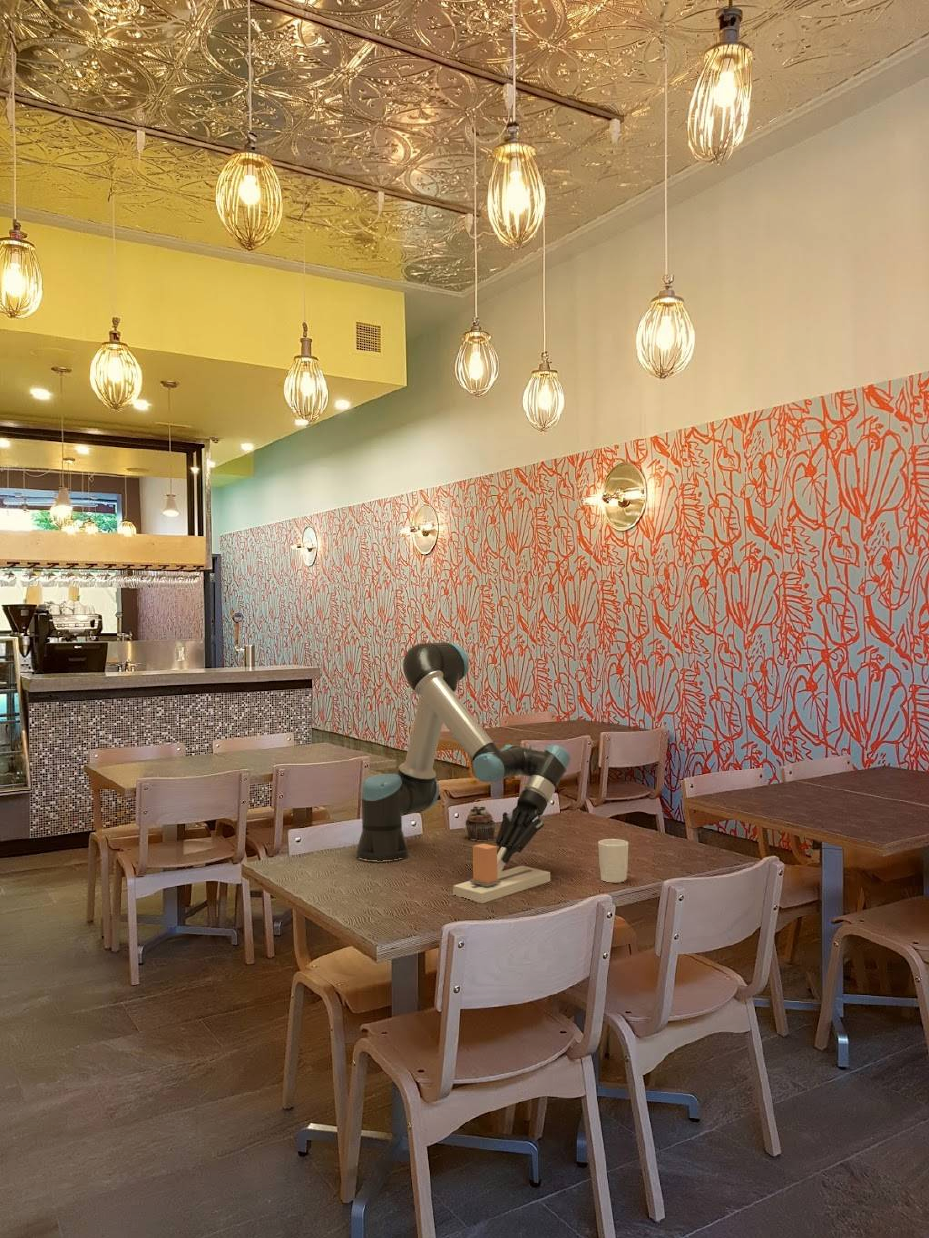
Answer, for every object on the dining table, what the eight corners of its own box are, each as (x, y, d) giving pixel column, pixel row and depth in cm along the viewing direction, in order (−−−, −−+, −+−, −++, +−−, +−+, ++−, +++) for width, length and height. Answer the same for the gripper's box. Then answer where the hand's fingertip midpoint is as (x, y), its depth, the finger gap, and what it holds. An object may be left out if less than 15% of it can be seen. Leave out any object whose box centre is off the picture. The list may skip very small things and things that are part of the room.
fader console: (521, 874, 244) (521, 865, 244) (550, 881, 237) (550, 871, 237) (453, 895, 226) (453, 885, 226) (482, 903, 219) (481, 892, 219)
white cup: (610, 886, 232) (610, 847, 232) (592, 878, 239) (592, 841, 239) (635, 881, 236) (634, 843, 236) (616, 874, 243) (616, 837, 243)
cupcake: (496, 841, 282) (495, 809, 282) (465, 842, 282) (465, 810, 282) (495, 834, 292) (495, 803, 292) (465, 835, 292) (465, 804, 292)
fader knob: (483, 878, 231) (483, 842, 231) (500, 882, 226) (500, 846, 227) (469, 882, 227) (469, 846, 227) (487, 886, 223) (486, 849, 223)
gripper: (561, 808, 238) (520, 884, 226) (523, 802, 247) (483, 875, 235) (548, 790, 234) (506, 867, 222) (510, 785, 243) (468, 859, 231)
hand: (494, 871), depth 229 cm, fingers closed
